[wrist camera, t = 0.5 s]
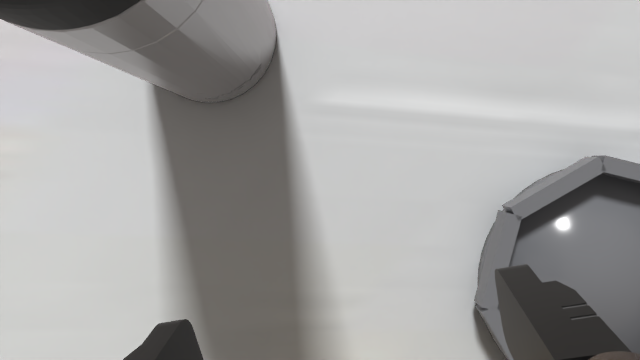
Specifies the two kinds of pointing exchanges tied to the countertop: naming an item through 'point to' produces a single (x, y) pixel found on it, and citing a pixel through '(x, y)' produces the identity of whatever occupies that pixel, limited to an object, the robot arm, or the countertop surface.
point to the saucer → (573, 243)
